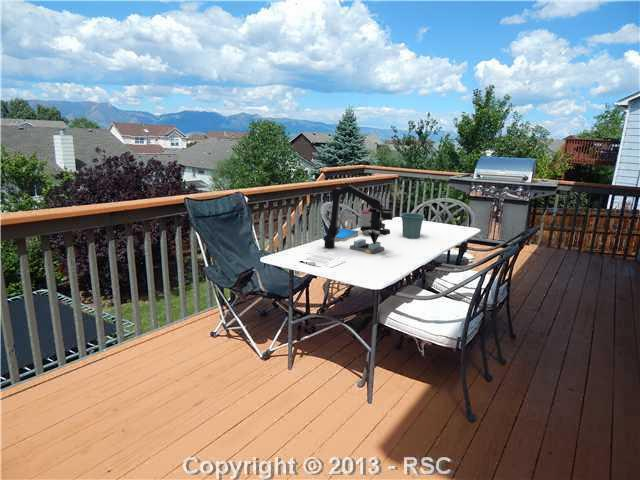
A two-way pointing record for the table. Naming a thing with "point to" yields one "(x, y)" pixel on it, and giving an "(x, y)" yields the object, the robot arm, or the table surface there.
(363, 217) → the grey plant pot
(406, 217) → the flower pot
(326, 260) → the tray
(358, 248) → the rack
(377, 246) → the panel
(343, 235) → the book
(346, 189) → the robot arm
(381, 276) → the table surface
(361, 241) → the fitted panel
